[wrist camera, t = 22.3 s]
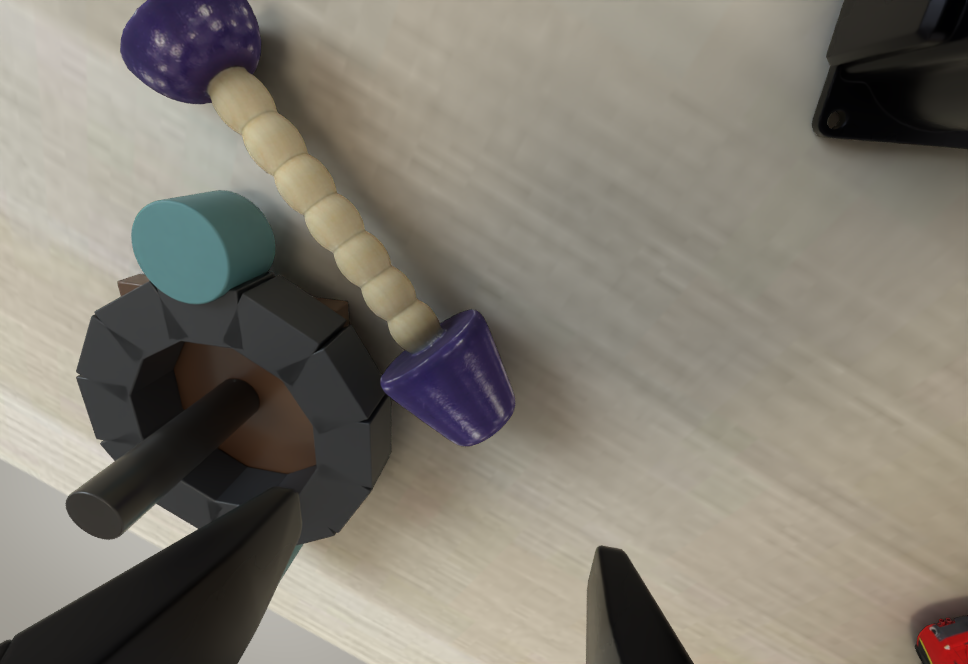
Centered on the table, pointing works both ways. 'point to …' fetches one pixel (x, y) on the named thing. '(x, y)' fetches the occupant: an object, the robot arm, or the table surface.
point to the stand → (201, 433)
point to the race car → (944, 642)
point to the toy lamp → (323, 211)
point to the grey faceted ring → (253, 333)
